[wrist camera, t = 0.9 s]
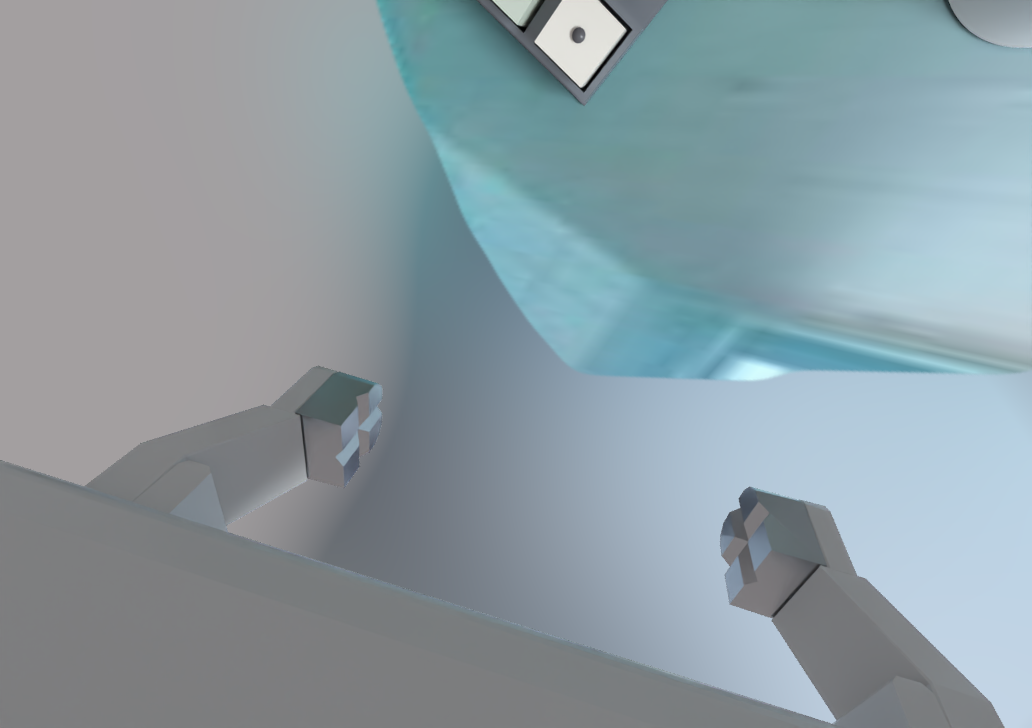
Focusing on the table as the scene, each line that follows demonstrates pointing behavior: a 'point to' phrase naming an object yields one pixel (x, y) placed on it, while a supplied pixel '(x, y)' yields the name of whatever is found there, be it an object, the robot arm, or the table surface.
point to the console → (634, 9)
